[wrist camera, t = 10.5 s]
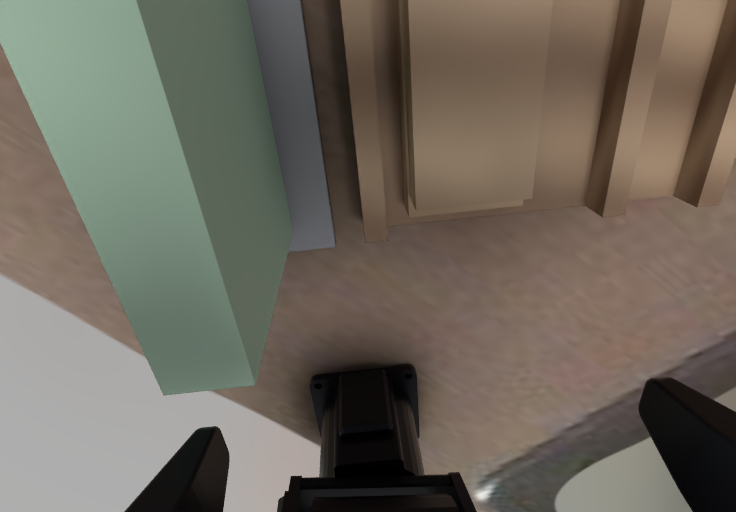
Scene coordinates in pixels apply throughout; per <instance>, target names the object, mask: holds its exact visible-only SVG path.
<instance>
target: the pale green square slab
mask: <svg viewBox="0 0 736 512" xmlns="http://www.w3.org/2000/svg"><path fill="white" fill-rule="evenodd" d="M0 43H1V46H2V48H3V50H4V52H5V54H6V56H7V58H8V61H9V63H10V65H11V67H12V69H13V71H14V74H15V76H16V78H17V80H18V82H19V84H20V87H21V89H22V91H23V93H24V95H25V97H26V99H27V102H28V104H29V106H30V108H31V110H32V112H33V115H34V117H35V119H36V121H37V123H38V125H39V127H40V130H41V132H42V134H43V136H44V138H45V140H46V143H47V145H48V147H49V149H50V151H51V153H52V156H53V158H54V160H55V162H56V164H57V166H58V168H59V171H60V173H61V175H62V177H63V179H64V181H65V184H66V186H67V188H68V190H69V192H70V194H71V197H72V199H73V201H74V203H75V205H76V207H77V209H78V212H79V214H80V216H81V218H82V220H83V222H84V225H85V227H86V229H87V231H88V233H89V235H90V237H91V240H92V242H93V244H94V246H95V248H96V250H97V253H98V255H99V257H100V259H101V261H102V263H103V266H104V268H105V270H106V272H107V274H108V276H109V278H110V281H111V283H112V285H113V287H114V289H115V291H116V294H117V296H118V298H119V300H120V302H121V304H122V307H123V309H124V311H125V313H126V315H127V317H128V319H129V322H130V324H131V326H132V328H133V330H134V332H135V335H136V337H137V339H138V341H139V343H140V345H141V347H142V350H143V352H144V354H145V356H146V358H147V360H148V362H149V365H150V366H151V369H152V371H153V373H154V375H155V378H156V380H157V382H158V384H159V386H160V388H161V391H162V392H163V395H172V394H181V393H190V392H199V391H208V390H217V389H226V388H235V387H244V386H252V385H256V381H257V377H258V373H259V369H260V364H261V360H262V356H263V352H264V348H265V344H266V340H267V336H268V332H269V328H270V324H271V320H272V316H273V312H274V308H275V304H276V299H277V295H278V291H279V287H280V283H281V279H282V275H283V271H284V267H285V263H286V259H287V255H288V251H289V247H290V243H291V239H292V234H293V227H292V222H291V217H290V212H289V207H288V202H287V197H286V192H285V187H284V182H283V177H282V172H281V167H280V162H279V157H278V152H277V147H276V142H275V137H274V132H273V127H272V122H271V117H270V112H269V107H268V102H267V97H266V92H265V87H264V82H263V77H262V72H261V67H260V62H259V57H258V52H257V47H256V42H255V37H254V32H253V27H252V22H251V17H250V12H249V7H248V2H247V0H0Z"/></svg>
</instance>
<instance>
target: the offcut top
mask: <svg viewBox="0 0 736 512" xmlns="http://www.w3.org/2000/svg"><path fill="white" fill-rule="evenodd" d="M552 5H553V0H402V15H403V38H404V61H405V84H406V106H407V129H408V152H409V175H410V198H411V200H412V203H413V205H414V207H415V210H416V211H422V210H431V209H440V208H450V207H459V206H469V205H478V204H487V203H497V202H506V201H515V200H525V199H532V194H533V185H534V175H535V166H536V157H537V147H538V138H539V128H540V119H541V109H542V100H543V90H544V81H545V71H546V62H547V52H548V43H549V33H550V24H551V14H552Z"/></svg>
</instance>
